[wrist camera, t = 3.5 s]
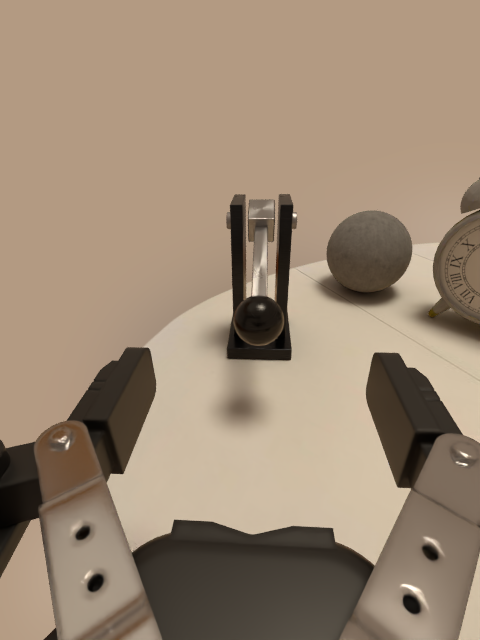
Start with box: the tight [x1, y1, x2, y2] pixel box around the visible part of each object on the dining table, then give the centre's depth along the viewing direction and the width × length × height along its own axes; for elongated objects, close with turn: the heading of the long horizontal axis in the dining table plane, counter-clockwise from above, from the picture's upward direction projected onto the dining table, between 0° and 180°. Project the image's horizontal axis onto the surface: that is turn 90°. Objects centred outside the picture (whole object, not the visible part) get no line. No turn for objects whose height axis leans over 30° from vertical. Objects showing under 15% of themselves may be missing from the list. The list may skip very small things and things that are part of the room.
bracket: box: [226, 194, 297, 360], centre depth 32 cm, size 8×6×14 cm
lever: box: [234, 200, 284, 346], centre depth 26 cm, size 14×3×3 cm, turn 176°
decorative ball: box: [327, 211, 412, 292], centre depth 43 cm, size 10×10×10 cm
